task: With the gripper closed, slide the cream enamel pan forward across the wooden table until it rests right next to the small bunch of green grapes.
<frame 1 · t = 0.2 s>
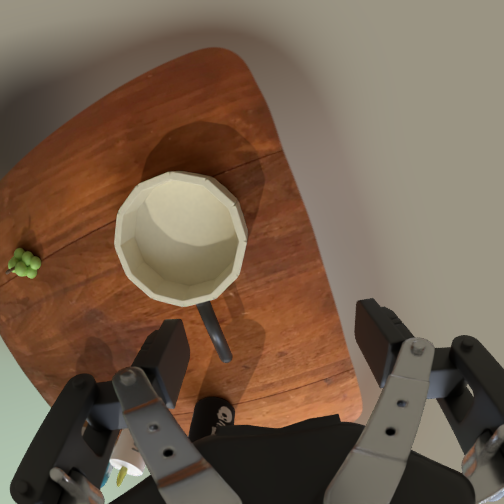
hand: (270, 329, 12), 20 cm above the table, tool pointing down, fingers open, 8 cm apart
grapes: (26, 260, 33), on the table
candle: (140, 427, 43), on the table
beverage can: (215, 406, 41), on the table
pan: (185, 232, 32), on the table
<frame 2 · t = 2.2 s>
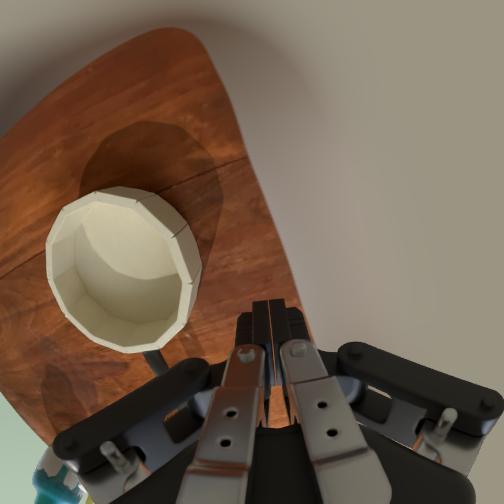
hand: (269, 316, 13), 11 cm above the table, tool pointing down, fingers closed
vase: (75, 447, 38), on the table
pan: (129, 262, 24), on the table
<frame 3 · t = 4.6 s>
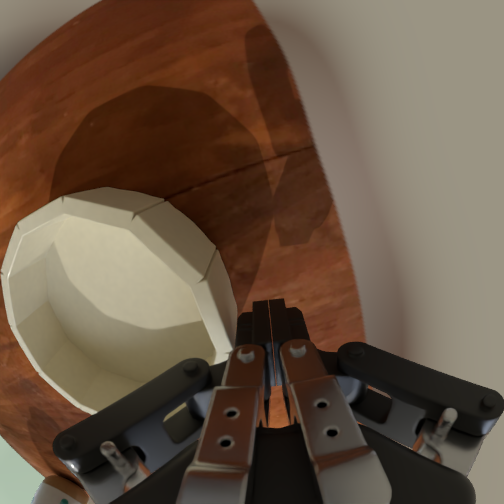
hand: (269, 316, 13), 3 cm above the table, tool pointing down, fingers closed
candle: (111, 491, 27), on the table
vase: (71, 481, 28), on the table
pan: (124, 302, 16), on the table, touching gripper
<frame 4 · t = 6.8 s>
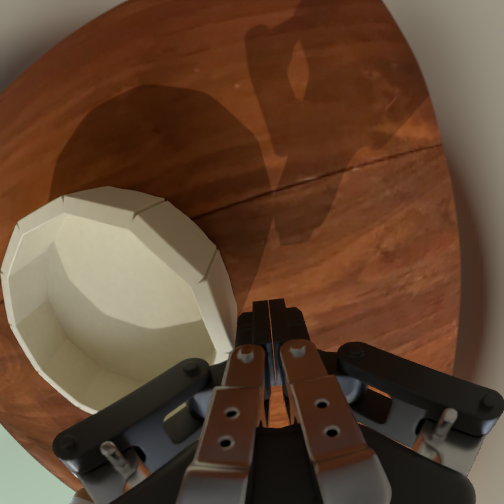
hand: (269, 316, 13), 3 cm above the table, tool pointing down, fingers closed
vase: (106, 492, 28), on the table
pan: (124, 301, 16), on the table, touching gripper
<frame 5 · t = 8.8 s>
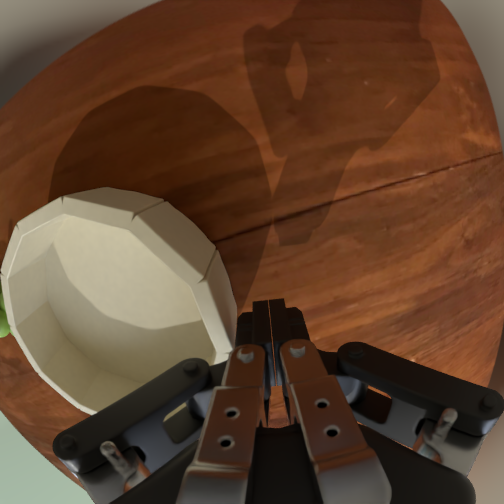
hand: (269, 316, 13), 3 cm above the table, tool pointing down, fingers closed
grapes: (9, 301, 16), on the table
pan: (124, 302, 16), on the table, touching gripper
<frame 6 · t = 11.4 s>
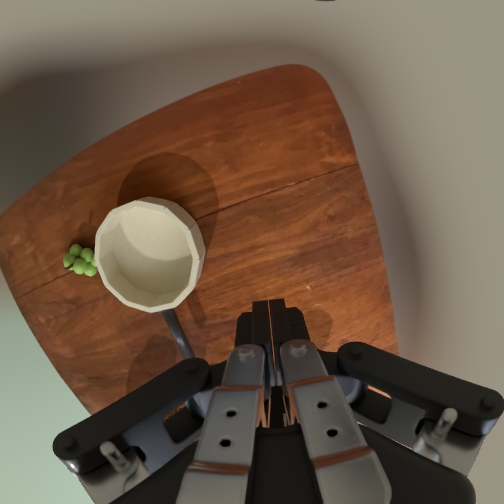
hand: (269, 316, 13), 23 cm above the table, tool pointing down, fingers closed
grapes: (83, 256, 37), on the table
beverage can: (275, 396, 44), on the table
pan: (154, 249, 36), on the table
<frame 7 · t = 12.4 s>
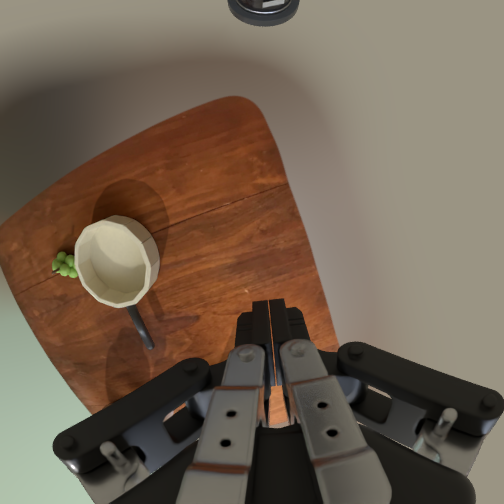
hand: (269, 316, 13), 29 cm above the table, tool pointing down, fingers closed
grapes: (68, 261, 43), on the table
pan: (121, 257, 43), on the table
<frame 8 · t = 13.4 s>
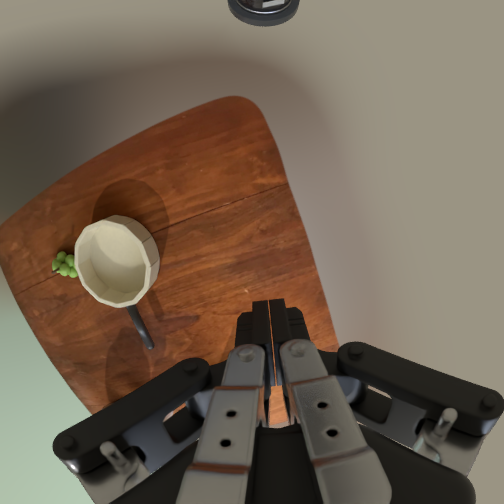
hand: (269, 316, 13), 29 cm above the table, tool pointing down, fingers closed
grapes: (68, 261, 43), on the table
pan: (121, 256, 43), on the table
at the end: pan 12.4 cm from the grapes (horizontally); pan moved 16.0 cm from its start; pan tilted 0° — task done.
